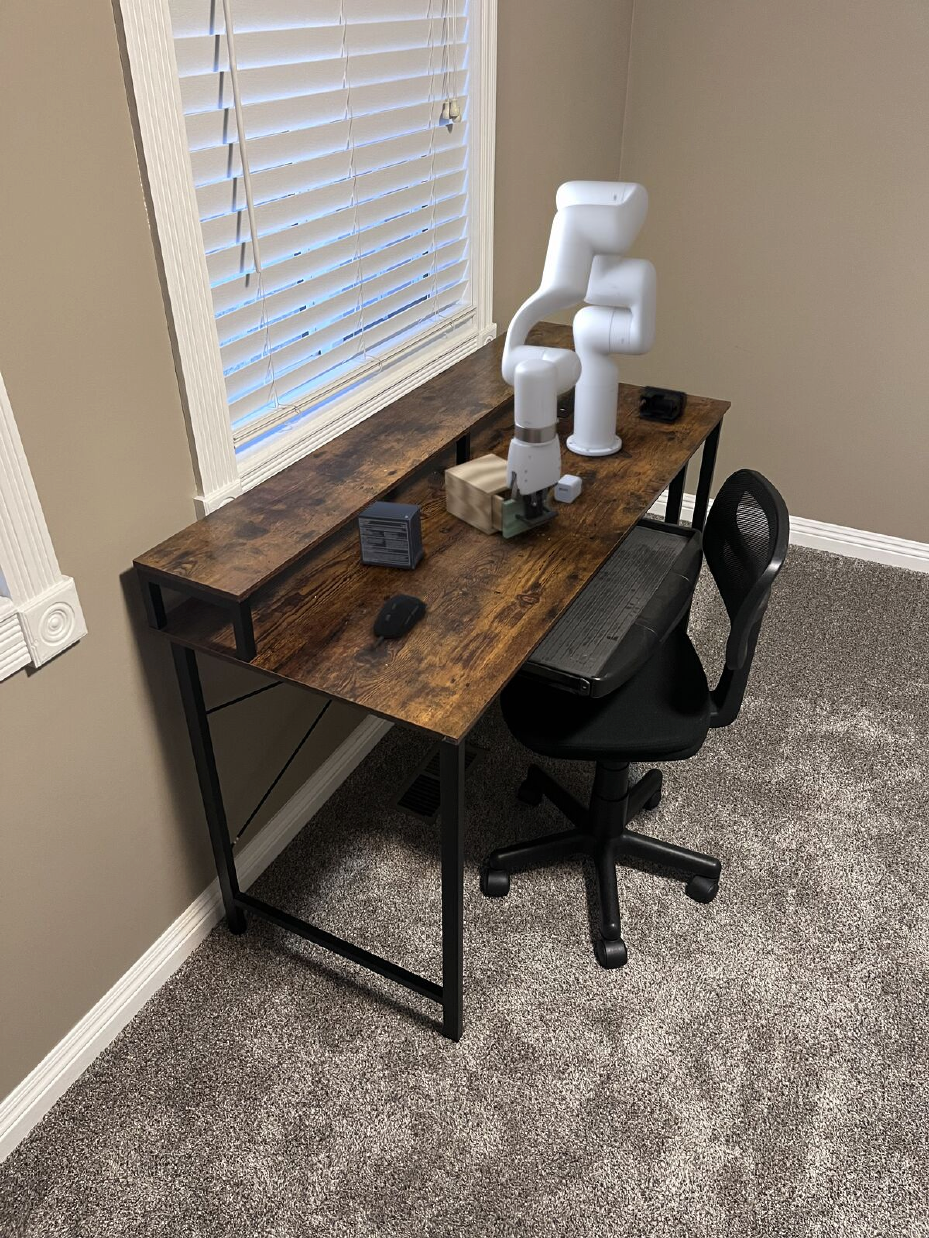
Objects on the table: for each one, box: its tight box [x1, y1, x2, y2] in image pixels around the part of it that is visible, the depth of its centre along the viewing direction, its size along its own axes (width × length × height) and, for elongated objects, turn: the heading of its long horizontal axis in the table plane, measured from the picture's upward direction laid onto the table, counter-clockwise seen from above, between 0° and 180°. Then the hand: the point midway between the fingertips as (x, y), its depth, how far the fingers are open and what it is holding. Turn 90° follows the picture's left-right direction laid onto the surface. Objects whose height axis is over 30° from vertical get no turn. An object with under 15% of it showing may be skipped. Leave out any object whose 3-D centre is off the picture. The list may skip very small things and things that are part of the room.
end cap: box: [638, 385, 688, 425], centre depth 225 cm, size 10×7×7 cm
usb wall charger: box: [554, 474, 583, 504], centre depth 192 cm, size 4×7×4 cm, turn 149°
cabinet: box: [444, 453, 509, 536], centre depth 185 cm, size 14×12×9 cm
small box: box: [356, 500, 424, 570], centre depth 171 cm, size 11×6×10 cm, turn 74°
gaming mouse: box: [372, 593, 426, 650], centre depth 154 cm, size 6×15×4 cm, turn 155°
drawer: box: [491, 489, 560, 539], centre depth 180 cm, size 17×11×7 cm, turn 38°
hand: (534, 520), depth 177 cm, fingers closed
